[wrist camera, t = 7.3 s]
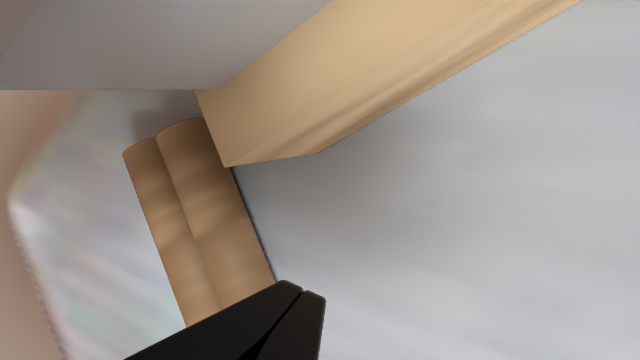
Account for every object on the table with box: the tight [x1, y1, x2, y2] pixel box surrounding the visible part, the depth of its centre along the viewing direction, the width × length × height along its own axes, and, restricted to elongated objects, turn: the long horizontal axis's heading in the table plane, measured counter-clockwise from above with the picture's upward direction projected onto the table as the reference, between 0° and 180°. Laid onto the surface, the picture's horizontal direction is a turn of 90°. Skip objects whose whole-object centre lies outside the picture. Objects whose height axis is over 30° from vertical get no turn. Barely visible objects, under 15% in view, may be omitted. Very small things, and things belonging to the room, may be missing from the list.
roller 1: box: [122, 137, 221, 327], centre depth 25 cm, size 9×2×2 cm, turn 30°
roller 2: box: [156, 117, 275, 310], centre depth 24 cm, size 9×2×2 cm, turn 30°
